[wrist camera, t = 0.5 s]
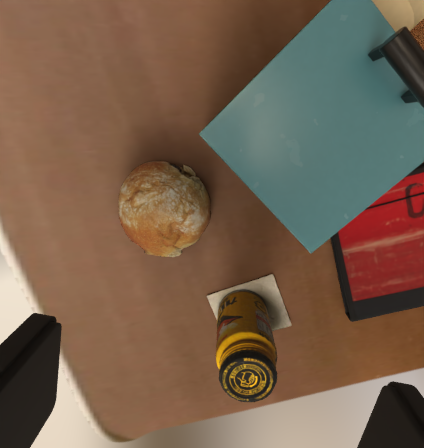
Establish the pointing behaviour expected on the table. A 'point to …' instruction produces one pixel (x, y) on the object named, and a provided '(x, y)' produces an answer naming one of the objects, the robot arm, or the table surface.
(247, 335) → the condiment
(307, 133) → the bread box lid
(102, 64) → the table surface
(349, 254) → the binder
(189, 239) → the bread roll
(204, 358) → the table surface
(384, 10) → the beige rounded capsule
